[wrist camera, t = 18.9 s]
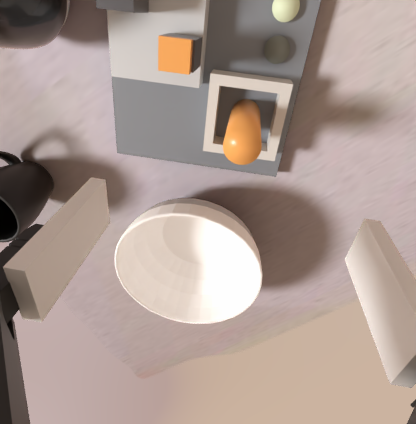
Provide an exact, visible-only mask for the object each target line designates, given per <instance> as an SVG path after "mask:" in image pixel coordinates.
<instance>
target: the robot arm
mask: <svg viewBox="0 0 416 424" xmlns="http://www.w3.org/2000/svg"><path fill="white" fill-rule="evenodd" d="M109 223H110V218H109V208H108V198H107V189H106V179H99V178H93V177H91V178H90V179H89V180H88V181H87V182H86V183H85V184H84V185H83V186H82V187H81V188H80V189H79V190H78V191H77V192H76V193H75V194H74V195H73V196H72V197H71V198H70V199H69V200H68V201H67V202H66V203H65V204H64V205H63V206H62V207H61V208H60V210H59V211H58V212H57V213H56V214H55V215H54V216H53V217H52V218H51V219H50V220H49V221H48V222H47V223H46V224H45V225H40V224H35V225H33V226H31V227H29V228H27V229H25V230H24V231H23V232H22V233H21V234H19V235H18V236H17V237H16V239H15V240H13V241H12V242H11V243H10V244H9V246H7V247H6V248H5V249H4V250H3V251H2V252H1V253H0V424H30V420H29V414H28V407H27V401H26V394H25V389H24V381H23V376H22V369H21V362H20V356H19V350H18V343H17V337H16V330H15V324H14V321H13V316H14V315H15V314H16V312H17V311H18V310H19V311H20V313H21V316H22V318H23V319H26V320H32V321H37V322H42V321H43V320H44V319H45V317H46V316H47V314H48V313H49V311H50V310H51V308H52V307H53V305H54V304H55V302H56V301H57V299H58V298H59V297H60V295H61V294H62V292H63V291H64V289H65V288H66V286H67V285H68V283H69V282H70V280H71V279H72V278H73V276H74V275H75V273H76V272H77V270H78V269H79V267H80V266H81V264H82V263H83V261H84V260H85V258H86V257H87V256H88V254H89V253H90V251H91V250H92V248H93V247H94V245H95V244H96V242H97V241H98V239H99V238H100V236H101V235H102V234H103V232H104V231H105V229H106V228H107V226H108V225H109ZM345 262H346V265H347V267H348V270H349V273H350V276H351V278H352V281H353V284H354V287H355V289H356V292H357V295H358V298H359V300H360V303H361V306H362V308H363V311H364V314H365V317H366V319H367V322H368V325H369V327H370V330H371V333H372V336H373V339H374V341H375V344H376V346H377V349H378V352H379V355H380V358H381V360H382V363H383V366H384V369H385V372H386V374H387V377H388V380H389V382H390V384H392V385H398V386H403V387H409V388H412V387H413V386H414V385H415V384H416V280H415V278H414V276H413V275H412V273H411V271H410V270H409V268H408V266H407V265H406V263H405V261H404V260H403V258H402V256H401V255H400V253H399V251H398V250H397V248H396V247H395V245H394V243H393V242H392V240H391V238H390V237H389V235H388V233H387V232H386V230H385V228H384V227H383V225H382V223H381V222H380V221H376V220H370V219H364V221H363V223H362V225H361V227H360V229H359V231H358V233H357V235H356V237H355V239H354V242H353V244H352V246H351V248H350V250H349V252H348V254H347V256H346V258H345ZM411 406H412V407H414V410H413V412H412V414H411V416H410V418H409V420H408V423H407V424H416V400H415V401H414V402H413V403H412V404H411Z"/></svg>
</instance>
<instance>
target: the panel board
mask: <svg viewBox="0 0 416 424" xmlns="http://www.w3.org/2000/svg"><path fill="white" fill-rule="evenodd" d="M320 2H321V0H149V13H132V12H124V11H116V10H108V9H107V23H108V37H109V51H110V65H111V76H112V87H113V101H114V116H115V130H116V144H117V153H121V154H127V155H134V156H141V157H147V158H154V159H161V160H167V161H174V162H181V163H187V164H194V165H201V166H207V167H214V168H221V169H227V170H234V171H241V172H247V173H254V174H261V175H267V176H274V177H276V175H277V171H278V168H279V164H280V160H281V156H282V152H283V148H284V144H285V140H286V136H287V132H288V128H289V124H290V120H291V116H292V112H293V108H294V105H295V101H296V97H297V93H298V89H299V85H300V81H301V77H302V73H303V69H304V65H305V61H306V57H307V53H308V49H309V46H310V42H311V38H312V34H313V30H314V26H315V22H316V18H317V14H318V10H319V6H320ZM168 33H175V34H183V35H191V36H198V37H203V38H202V51H201V63H200V67H199V68H198V69H197V70H196V71H195V72H194V73H190V74H189V75H187V74H179V73H172V72H165V71H158V36H159V35H163V34H168ZM242 99H249V100H252V101H254V102H255V103H256V104H257V105H258V107H259V110H260V123H261V143H262V148H261V152H260V155H259V156H258V158H257V159H256V160H255V161H253V162H252V163H249V164H246V165H238V164H235V163H233V162H231V161H230V160H228V159H227V157H226V156H225V154H224V151H223V142H224V138H225V134H226V130H227V126H228V122H229V118H230V114H231V110H232V107H233V106H234V104H235V103H236V102H238V101H240V100H242Z"/></svg>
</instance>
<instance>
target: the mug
mask: <svg viewBox="0 0 416 424" xmlns="http://www.w3.org/2000/svg"><path fill="white" fill-rule="evenodd" d="M0 158H1V159H3V160H4V161H6V162H7V163H8V164H9V165H7V166H3V167H0V242H9V241H12V240H15V239H16V237H17V236H18V235H19V234H21V233H22V232H23V231H24V230H25V229H27V228H28V227H29V226H30V225H31V224H32V223H33V222H34V221H35V220H36V218H37V217H38V216H39V214H40V213H41V211H42V209H43V208H44V206H45V204H46V202H47V200H48V198H49V196H50V194H51V192H52V190H53V180H52V178H51V176H50V174H49V173H48V172H47V170H45V169H44V168H43V167H42V166H40V165H38V164H36V163H33V162H21V161H20V159H19V158H18V157H16V156H15V155H13V154H10V153H7V152H2V151H0Z"/></svg>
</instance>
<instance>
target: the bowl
mask: <svg viewBox="0 0 416 424" xmlns="http://www.w3.org/2000/svg"><path fill="white" fill-rule="evenodd" d="M115 268H116V272H117V275H118V278H119V280H120V282H121V283H122V285H123V287H124V288H125V290H126V291H127V292H128V293H129V294H130V296H131V297H133V298H134V299H135V300H136V301H137V302H138V303H139V304H141V305H142V306H144V307H145V308H147V309H148V310H150V311H152V312H154V313H156V314H158V315H160V316H162V317H165V318H168V319H171V320H175V321H179V322H184V323H194V324H206V323H215V322H220V321H224V320H227V319H230V318H233V317H235V316H237V315H238V314H240V313H242V312H244V311H245V310H246V309H247V308H248V307H249V306H250V305H252V303H253V302H254V300H255V299H256V297H257V296H258V294H259V291H260V289H261V286H262V275H263V274H262V267H261V260H260V255H259V250H258V248H257V246H256V244H255V241H254V239H253V237H252V235H251V233H250V231H249V229H248V228H247V227H246V225H245V224H244V223H243V221H242V220H240V219H239V218H238V217H237V216H236V215H235V214H233V213H232V212H230V211H229V210H227V209H225V208H224V207H222V206H220V205H217V204H215V203H212V202H209V201H205V200H200V199H195V198H178V199H172V200H167V201H164V202H161V203H159V204H156V205H155V206H153V207H151V208H150V209H148V210H147V211H145V212H144V213H143V214H142V215H140V216H139V217H138V218H137V219H136V220H135V221H134V222H133V223H132V224H131V225H130V226H129V227H128V229H127V230H126V231H125V233H124V234H123V235H122V237H121V239H120V240H119V242H118V244H117V247H116V251H115Z"/></svg>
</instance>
